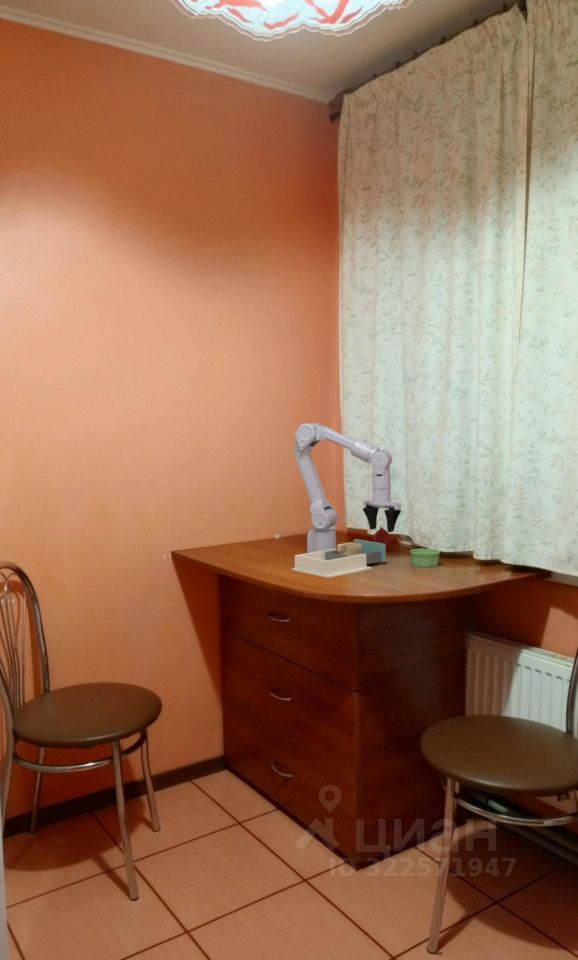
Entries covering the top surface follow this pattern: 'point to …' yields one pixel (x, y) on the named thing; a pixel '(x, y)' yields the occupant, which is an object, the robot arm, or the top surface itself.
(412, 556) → the ramekin
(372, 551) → the tray
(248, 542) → the top surface
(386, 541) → the onion
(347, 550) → the block
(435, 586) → the top surface
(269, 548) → the top surface
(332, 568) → the housing
